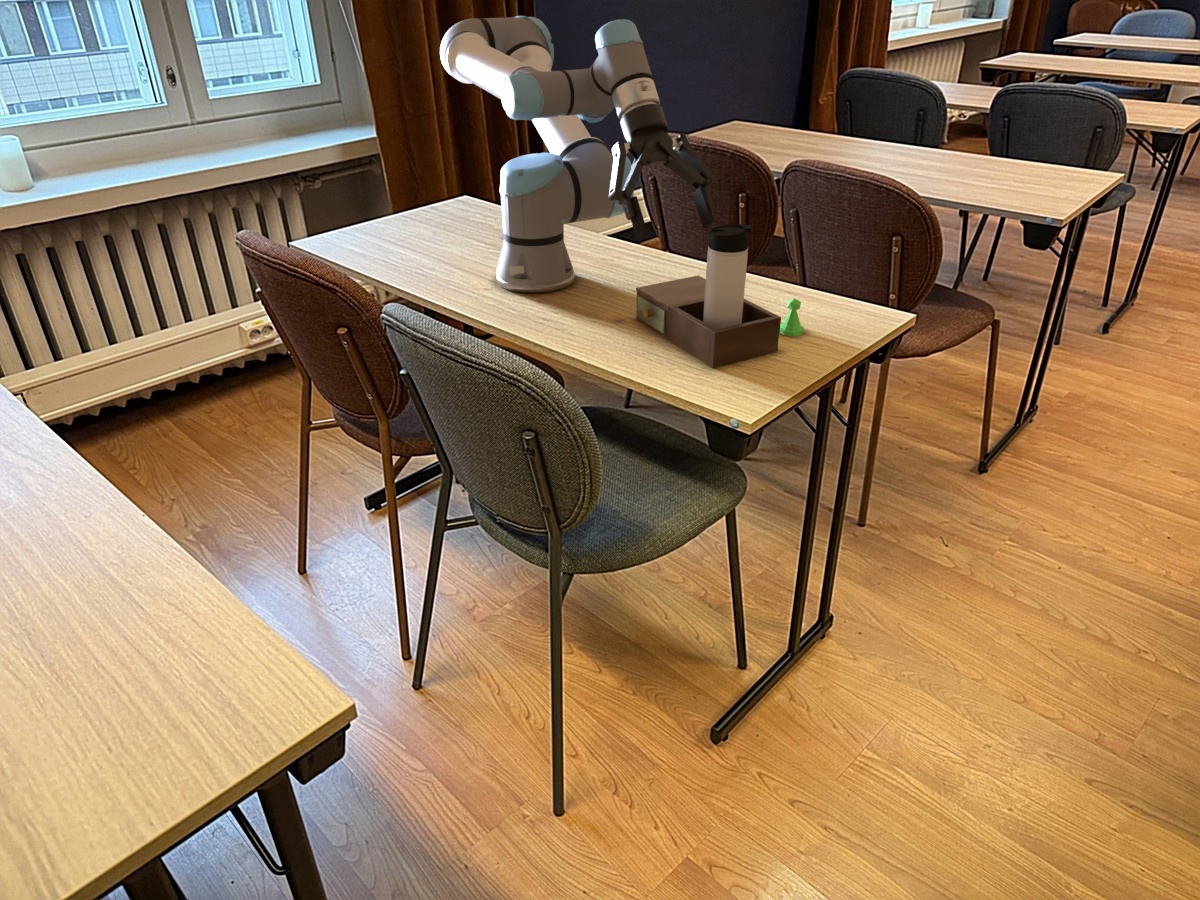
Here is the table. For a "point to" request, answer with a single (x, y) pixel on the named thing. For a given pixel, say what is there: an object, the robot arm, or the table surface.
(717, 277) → the travel mug
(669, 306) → the storage box
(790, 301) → the game piece
